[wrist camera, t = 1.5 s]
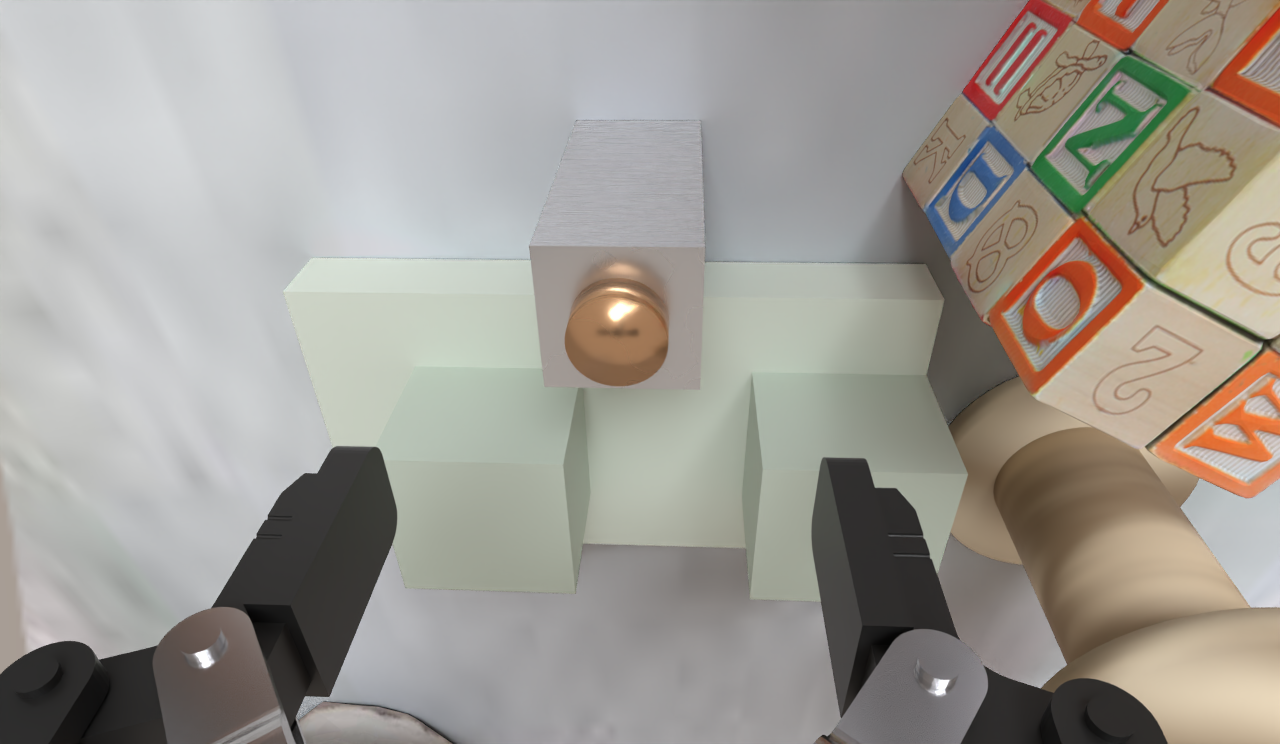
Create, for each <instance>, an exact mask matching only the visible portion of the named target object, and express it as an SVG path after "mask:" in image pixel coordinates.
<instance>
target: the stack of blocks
mask: <svg viewBox="0 0 1280 744" xmlns="http://www.w3.org/2000/svg"><path fill="white" fill-rule="evenodd" d="M902 175H903V178H904V180H905V182H906V183H907V185H908V187H909V188H910V190H911V191H912V193H913V195H914V198H915V199H916V201H917V203H918V204H919V206H920V208H921V209H922V210H923V212H925V213H926V216H927V218H928V220H929V222H930V224H931V225H932V227H933V229H934V231H935V232H936V234H937V236H938V238H939V240H940V242H941V244H942V245H943V247H944V249H945V251H946V253H947V255H948V257H949V258H950V259H951V267H952V269H953V271H954V272H955V274H956V276H957V279H958V281H959V282H960V284H961V285H962V287H963V289H964V291H965V293H966V295H967V296H968V298H969V299H970V302H971V304H972V306H973V308H974V309H975V310H976V312H977V314H978V316H979V318H980V319H981V320H982V322H984V323H985V324H987V325H989V326H991V327H992V328H993V330H994V332H995V334H996V336H997V337H998V339H999V341H1000V343H1001V345H1002V346H1003V348H1004V350H1005V352H1006V353H1007V355H1008V357H1009V359H1010V361H1011V362H1012V364H1013V366H1014V368H1015V369H1016V371H1017V373H1018V375H1019V376H1020V378H1021V380H1022V382H1023V384H1024V385H1025V387H1026V389H1027V390H1028V392H1029V394H1030V395H1031V396H1032V397H1033V398H1035V399H1036V400H1037V401H1039V402H1042V403H1044V404H1046V405H1048V406H1050V407H1052V408H1054V409H1057V410H1059V411H1061V412H1063V413H1065V414H1067V415H1069V416H1071V417H1073V418H1075V419H1077V420H1079V421H1081V422H1083V423H1085V424H1087V425H1089V426H1091V427H1093V428H1095V429H1097V430H1100V431H1102V432H1104V433H1106V434H1108V435H1109V436H1111V437H1113V438H1115V439H1117V440H1119V441H1121V442H1123V443H1125V444H1127V445H1129V446H1131V447H1133V448H1136V449H1142V448H1144V447H1145V448H1146V449H1147V451H1148V452H1150V453H1151V454H1153V455H1154V456H1156V457H1157V458H1159V459H1161V460H1162V461H1164V462H1167V463H1169V464H1171V465H1173V466H1175V467H1178V468H1180V469H1182V470H1184V471H1186V472H1188V473H1190V474H1192V475H1194V476H1197V477H1199V478H1201V479H1203V480H1205V481H1207V482H1210V483H1212V484H1214V485H1216V486H1218V487H1220V488H1223V489H1225V490H1227V491H1229V492H1231V493H1234V494H1236V495H1238V496H1241V497H1244V498H1253V497H1255V496H1256V495H1258V494H1259V493H1260V492H1262V491H1263V490H1265V489H1266V488H1267V487H1269V486H1270V485H1271V484H1273V483H1274V482H1275V481H1277V480H1278V479H1280V0H1030V1H1029V2H1028V3H1027V4H1026V6H1025V7H1024V9H1023V10H1022V11H1021V13H1020V14H1019V15H1018V16H1017V18H1016V19H1015V20H1014V22H1013V23H1012V24H1011V26H1010V27H1009V29H1008V30H1007V31H1006V33H1005V34H1004V36H1003V37H1002V38H1001V40H1000V41H999V42H998V44H997V45H996V46H995V48H994V49H993V51H992V52H991V53H990V55H989V56H988V57H987V59H986V60H985V61H984V63H983V64H982V65H981V67H980V68H979V69H978V71H977V72H976V73H975V75H974V76H973V78H972V79H971V80H970V82H969V83H968V85H967V86H966V87H965V88H964V90H963V92H962V94H961V95H960V96H959V97H958V98H957V99H956V100H955V101H954V102H953V104H952V105H951V106H950V108H949V109H948V110H947V112H946V113H945V114H944V116H943V117H942V118H941V120H940V121H939V123H938V124H937V125H936V127H935V128H934V129H933V131H932V132H931V133H930V135H929V136H928V137H927V139H926V140H925V142H924V143H923V144H922V146H921V147H920V148H919V150H918V151H917V152H916V154H915V155H914V157H913V158H912V159H911V161H910V162H909V163H908V165H907V166H906V168H905V169H904V171H903V173H902Z"/></svg>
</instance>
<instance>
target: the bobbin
mask: <svg viewBox="0 0 1280 744" xmlns="http://www.w3.org/2000/svg"><path fill="white" fill-rule="evenodd" d="M948 428H949V430H950V432H951V435H952V437H953V440H954V442H955V444H956V447H957V449H958V451H959V454H960V456H961V458H962V461H963V463H964V466H965V468H966V470H967V473H968V476H967V480H966V483H965V486H964V489H963V493H962V496H961V499H960V502H959V506H958V509H957V512H956V515H955V519H954V522H953V525H952V528H951V532H950V533H951V534H952V535H953V536H954V537H955V538H956V539H957V540H958V541H959V542H961V543H962V544H963V545H965V546H966V547H967V548H969V549H971V550H973V551H975V552H976V553H978V554H981V555H983V556H986V557H988V558H991V559H994V560H998V561H1002V562H1007V563H1013V564H1020V565H1023V566H1024V568H1025V571H1026V573H1027V575H1028V577H1029V580H1030V582H1031V584H1032V586H1033V589H1034V591H1035V593H1036V595H1037V598H1038V600H1039V602H1040V604H1041V607H1042V609H1043V611H1044V613H1045V616H1046V618H1047V620H1048V622H1049V625H1050V627H1051V629H1052V631H1053V634H1054V636H1055V638H1056V640H1057V643H1058V645H1059V647H1060V649H1061V652H1062V654H1063V656H1064V658H1065V661H1066V663H1067V666H1066V667H1064V668H1063V669H1061V670H1060V671H1059V672H1057V673H1056V674H1055V675H1054V676H1053V677H1052V678H1051V679H1050V680H1049V681H1048V682H1046V683H1045V684H1044V685H1043V687H1042V688H1041V689H1043V690H1046V691H1050V692H1053V693H1054V692H1055V690H1056V689H1057V688H1058V687H1059V686H1060V685H1061V684H1063V683H1064V682H1066V681H1069V680H1072V679H1078V678H1090V679H1097V680H1101V681H1104V682H1108V683H1110V684H1112V685H1115V686H1117V687H1119V688H1121V689H1123V690H1125V691H1126V692H1128V693H1129V694H1131V695H1132V696H1134V697H1135V698H1136V699H1137V700H1139V701H1140V702H1141V703H1142V704H1143V705H1144V706H1145V707H1146V708H1147V709H1148V710H1149V711H1150V712H1151V713H1152V715H1153V716H1154V717H1155V719H1156V720H1157V722H1158V724H1159V726H1160V727H1161V729H1162V731H1163V734H1164V736H1165V738H1166V740H1167V742H1168V744H1280V608H1277V607H1275V608H1251V607H1250V606H1249V604H1248V603H1247V602H1246V600H1245V599H1244V597H1243V596H1242V594H1241V593H1240V592H1239V590H1238V589H1237V587H1236V586H1235V585H1234V583H1233V582H1232V580H1231V579H1230V578H1229V576H1228V575H1227V573H1226V572H1225V570H1224V569H1223V568H1222V566H1221V565H1220V563H1219V562H1218V561H1217V559H1216V558H1215V556H1214V555H1213V554H1212V552H1211V551H1210V549H1209V548H1208V546H1207V545H1206V544H1205V542H1204V541H1203V539H1202V538H1201V537H1200V535H1199V534H1198V532H1197V531H1196V530H1195V528H1194V527H1193V525H1192V524H1191V522H1190V521H1189V520H1188V518H1187V517H1186V515H1185V514H1184V513H1183V511H1182V510H1181V508H1180V507H1181V505H1182V504H1183V503H1184V502H1185V501H1186V499H1187V498H1188V497H1189V496H1190V494H1191V492H1192V491H1193V489H1194V488H1195V486H1196V485H1197V482H1198V480H1199V477H1197V476H1194V475H1192V474H1190V473H1188V472H1186V471H1184V470H1182V469H1180V468H1178V467H1175V466H1173V465H1171V464H1169V463H1167V462H1164V461H1162V460H1161V459H1159V458H1157V457H1156V456H1154V455H1153V454H1151V453H1150V452H1148V451H1147V449H1146V448H1145V447H1144V448H1142V449H1136V448H1133V447H1131V446H1129V445H1127V444H1125V443H1123V442H1121V441H1119V440H1117V439H1115V438H1113V437H1111V436H1109V435H1108V434H1106V433H1104V432H1102V431H1100V430H1097V429H1095V428H1093V427H1091V426H1089V425H1087V424H1085V423H1083V422H1081V421H1079V420H1077V419H1075V418H1073V417H1071V416H1069V415H1067V414H1065V413H1063V412H1061V411H1059V410H1057V409H1054V408H1052V407H1050V406H1048V405H1046V404H1044V403H1042V402H1039V401H1037V400H1036V399H1035V398H1033V397H1032V396H1031V395H1030V394H1029V392H1028V390H1027V389H1026V387H1025V385H1024V384H1023V382H1022V380H1021V378H1020V376H1018V377H1015V378H1013V379H1011V380H1008V381H1006V382H1004V383H1002V384H1000V385H999V386H997V387H995V388H993V389H991V390H990V391H988V392H987V393H985V394H984V395H982V396H981V397H979V398H978V399H976V400H975V401H974V402H973V403H971V404H970V405H969V406H968V407H967V408H965V409H964V410H963V411H962V412H961V413H960V414H959V415H958V416H957V417H956V418H955V419H954V421H953V422H952V423H951V424H950V425H949V427H948Z"/></svg>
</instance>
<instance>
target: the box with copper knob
mask: <svg viewBox="0 0 1280 744" xmlns="http://www.w3.org/2000/svg"><path fill="white" fill-rule="evenodd" d="M529 249H530V259H531V268H532V277H533V287H534V296H535V305H536V314H537V324H538V333H539V342H540V352H541V361H542V370H543V380H544V387H574V388H628V389H682V390H700V379H701V352H702V324H703V296H704V269H705V226H704V197H703V169H702V141H701V120H576V122H575V124H574V127H573V130H572V132H571V135H570V138H569V140H568V143H567V146H566V148H565V151H564V154H563V156H562V159H561V162H560V164H559V167H558V170H557V173H556V175H555V178H554V181H553V183H552V186H551V189H550V191H549V194H548V197H547V199H546V202H545V205H544V207H543V210H542V213H541V215H540V218H539V221H538V223H537V226H536V229H535V231H534V234H533V237H532V239H531V242H530V245H529Z"/></svg>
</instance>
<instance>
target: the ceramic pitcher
mask: <svg viewBox="0 0 1280 744" xmlns="http://www.w3.org/2000/svg"><path fill="white" fill-rule="evenodd" d="M298 721H299V723H300V726H301V729H302V732H303V735H304V738H305V741H306V743H307V744H452V743H451V742H449V741H448V740H446V739H445V738H443V737H442V736H440V735H439V734H437V733H436V732H435V731H433V730H432V729H430V728H429V727H427V726H426V725H425V724H423V723H422V722H420V721H419V720H417V719H415V718H414V717H412V716H410V715H408V714H405V713H401V712H397V711H393V710H389V709H385V708H381V707H375V706H361V705H349V704H341V703H332V702H322V703H321V704H319V705H318V706H317V707H315V708H314V709H312V710H311V711H310V712H309V713H307V714H306V715H305V716H304V717H302V718H301V719H300V720H298Z"/></svg>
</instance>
